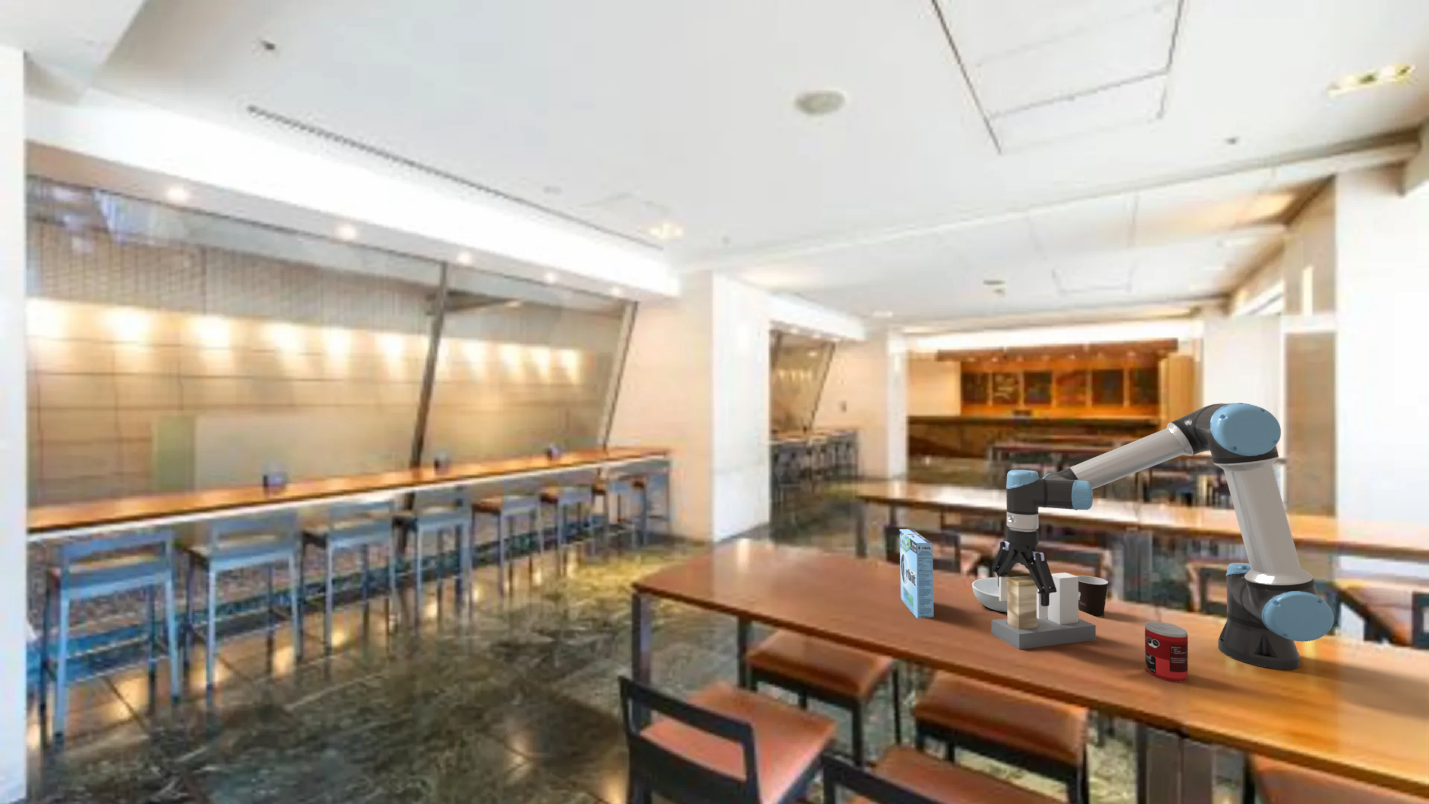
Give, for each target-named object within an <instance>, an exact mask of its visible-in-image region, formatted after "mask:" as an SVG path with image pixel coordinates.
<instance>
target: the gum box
mask: <svg viewBox="0 0 1429 804" xmlns="http://www.w3.org/2000/svg"><path fill="white" fill-rule="evenodd" d="M933 551H934V550H933V542H931V541H929V540H928V539H927V538H926V537H924V536H923V535H921V534H920V533H919V532H917V531H916V530H915V529H912V528H909V529H908V528H906V529H905V528H903V529H901V528H900V529H899V553H900V554H899V559H900V560H899V563H900V570H899V571H900V575H899V577H900V599H901V601H902V602H903V603H904V605H905V606H906V608H908V610H909V611H910V612H911V614H913V616H914V617H915V618H916V619H918V620H919V619H930V618H934V616H935V615H934V614H935V613H934V611H935V610H934V609H935V608H934V562H933V561H934V559H933V558H934V555H933Z"/></svg>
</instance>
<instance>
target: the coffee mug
mask: <svg viewBox="0 0 1429 804" xmlns="http://www.w3.org/2000/svg"><path fill="white" fill-rule="evenodd" d="M1076 576H1077V577H1078V611H1081V612H1083V613H1085V614H1088V615H1090V616H1092V617H1096V618H1097V617H1098V618H1100V617H1104V615H1105V609H1106V601H1107V594H1108V587H1109V581H1108V580H1106V579H1105V578H1101V577H1097V576H1089V575H1076Z"/></svg>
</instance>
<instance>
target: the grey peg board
mask: <svg viewBox="0 0 1429 804" xmlns="http://www.w3.org/2000/svg"><path fill="white" fill-rule="evenodd" d="M1096 629H1097V626H1096V624H1094V623H1091V622H1088V621H1087V620H1084V619H1082V618H1079V617H1078V623H1071V624H1062V625H1059V624H1057V623H1055V622H1053V621H1051V620H1048V618H1041V619H1038V627H1035V628H1026V629H1017V628H1015V627H1013V626H1011V625H1009V624H1007V618H997V619H991V635H992V636H993V637H994V636H995V637H996V638H998V639H1000V640H1001V641H1003V642H1005V643H1007V644H1008V645H1011V646H1012V647H1015V648H1016V649H1018V650H1024V649H1026V650H1027V649H1031V648H1032V649H1033V648H1041V647H1048V646H1049V647H1050V646H1058V645H1063V644H1064V645H1065V644H1072V643H1073V644H1074V643H1081V642H1082V643H1083V642H1088V641H1090V642H1091V641H1096V639H1097V638H1096V637H1097V636H1096V633H1097V630H1096Z"/></svg>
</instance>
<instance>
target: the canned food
mask: <svg viewBox="0 0 1429 804" xmlns="http://www.w3.org/2000/svg"><path fill="white" fill-rule="evenodd" d="M1188 636H1189V635H1188V631H1187V630H1186V629H1185V628H1182V627H1180V626H1178V625H1174V624H1171V623H1165V622H1159V621H1150V622H1146V623H1145V626H1144V665H1145V666H1144V667H1145V670H1146V672H1147V673H1149V675H1151V676H1152V677H1155V678H1158V679H1160V680H1164V681H1168V682H1174V683H1175V682H1176V683H1180V682H1181V683H1182V682H1185V681H1187V679H1188V677H1189V669H1188V668H1189V663H1188V660H1189V652H1188V651H1189V649H1188V648H1189V646H1188V645H1189V637H1188Z"/></svg>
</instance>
